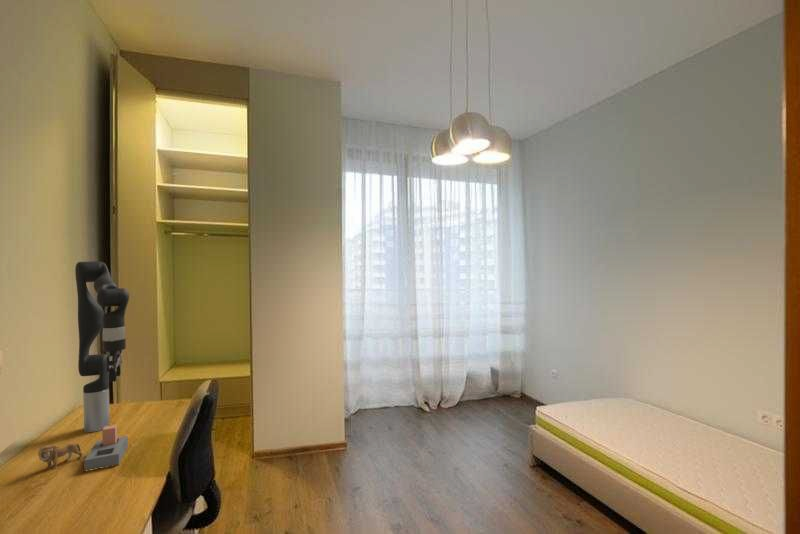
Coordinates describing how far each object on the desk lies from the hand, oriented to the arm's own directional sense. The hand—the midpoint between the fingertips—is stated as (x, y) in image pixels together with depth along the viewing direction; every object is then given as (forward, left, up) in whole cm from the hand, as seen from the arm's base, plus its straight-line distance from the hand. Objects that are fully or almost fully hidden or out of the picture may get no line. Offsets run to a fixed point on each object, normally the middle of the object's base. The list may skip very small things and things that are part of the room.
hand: (115, 378), depth 159 cm
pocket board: (+10, -1, -27) cm, 29 cm away
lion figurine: (+8, -15, -28) cm, 33 cm away
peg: (+5, -1, -27) cm, 28 cm away
